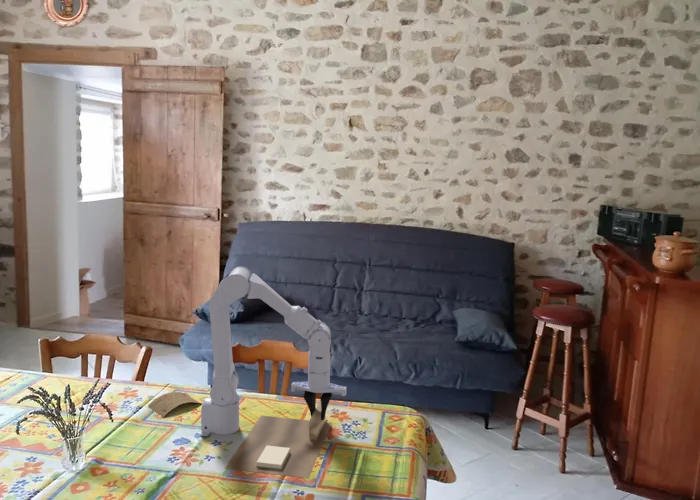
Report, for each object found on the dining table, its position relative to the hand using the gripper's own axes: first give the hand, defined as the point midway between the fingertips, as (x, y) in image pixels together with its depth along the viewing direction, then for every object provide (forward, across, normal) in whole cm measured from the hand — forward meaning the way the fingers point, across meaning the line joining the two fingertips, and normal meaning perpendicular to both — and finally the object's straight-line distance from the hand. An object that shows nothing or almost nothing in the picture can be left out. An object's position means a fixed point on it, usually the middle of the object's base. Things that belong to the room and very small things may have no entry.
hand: (318, 418), depth 162 cm
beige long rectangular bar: (+3, 0, +1) cm, 3 cm away
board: (+4, +7, +10) cm, 13 cm away
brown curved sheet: (+5, +44, -7) cm, 45 cm away
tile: (+2, +7, +14) cm, 16 cm away
